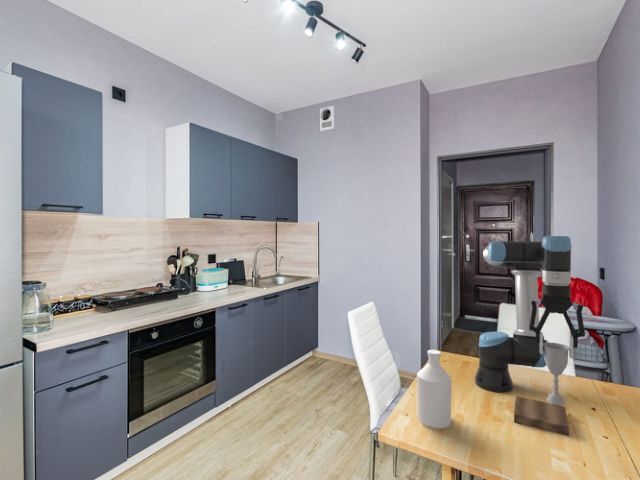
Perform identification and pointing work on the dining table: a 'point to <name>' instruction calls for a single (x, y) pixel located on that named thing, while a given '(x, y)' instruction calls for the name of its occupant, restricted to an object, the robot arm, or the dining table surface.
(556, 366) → the chalice
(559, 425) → the plinth
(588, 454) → the dining table surface
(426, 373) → the bottle
